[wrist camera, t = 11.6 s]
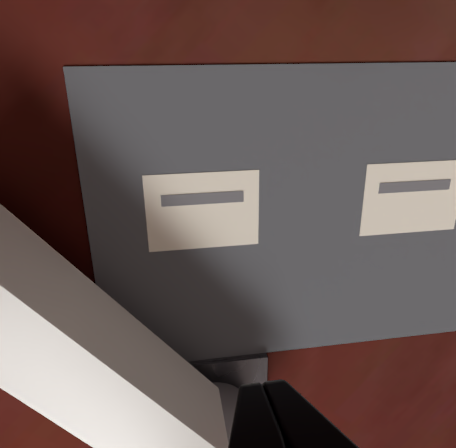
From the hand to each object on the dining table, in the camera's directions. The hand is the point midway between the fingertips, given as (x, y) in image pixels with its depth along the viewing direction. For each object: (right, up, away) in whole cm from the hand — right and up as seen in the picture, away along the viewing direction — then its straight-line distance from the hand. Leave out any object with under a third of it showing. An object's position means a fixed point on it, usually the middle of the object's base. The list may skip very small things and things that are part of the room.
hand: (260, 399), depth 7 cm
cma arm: (-6, -2, +11) cm, 13 cm away
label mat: (+3, +3, +11) cm, 12 cm away
